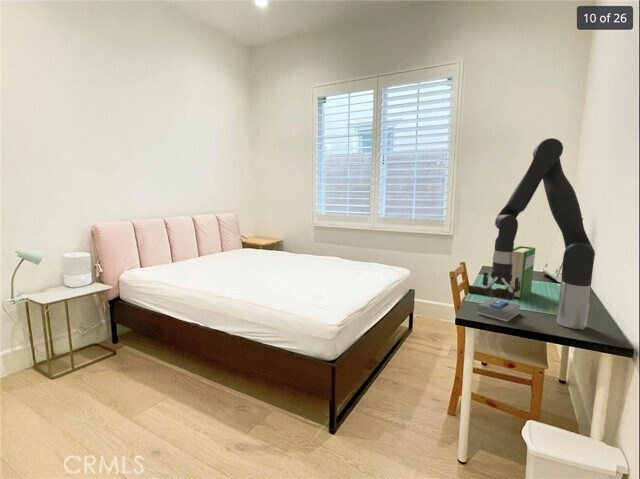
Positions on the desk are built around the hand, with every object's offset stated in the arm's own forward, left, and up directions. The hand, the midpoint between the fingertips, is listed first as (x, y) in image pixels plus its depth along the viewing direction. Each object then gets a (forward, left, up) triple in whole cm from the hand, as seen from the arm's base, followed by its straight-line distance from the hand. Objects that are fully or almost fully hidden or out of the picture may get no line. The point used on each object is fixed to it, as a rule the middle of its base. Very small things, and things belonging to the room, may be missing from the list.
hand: (499, 298), depth 143 cm
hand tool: (+14, -25, -8) cm, 30 cm away
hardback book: (+4, -38, -7) cm, 39 cm away
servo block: (0, 0, -6) cm, 6 cm away
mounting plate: (0, 0, -7) cm, 7 cm away
